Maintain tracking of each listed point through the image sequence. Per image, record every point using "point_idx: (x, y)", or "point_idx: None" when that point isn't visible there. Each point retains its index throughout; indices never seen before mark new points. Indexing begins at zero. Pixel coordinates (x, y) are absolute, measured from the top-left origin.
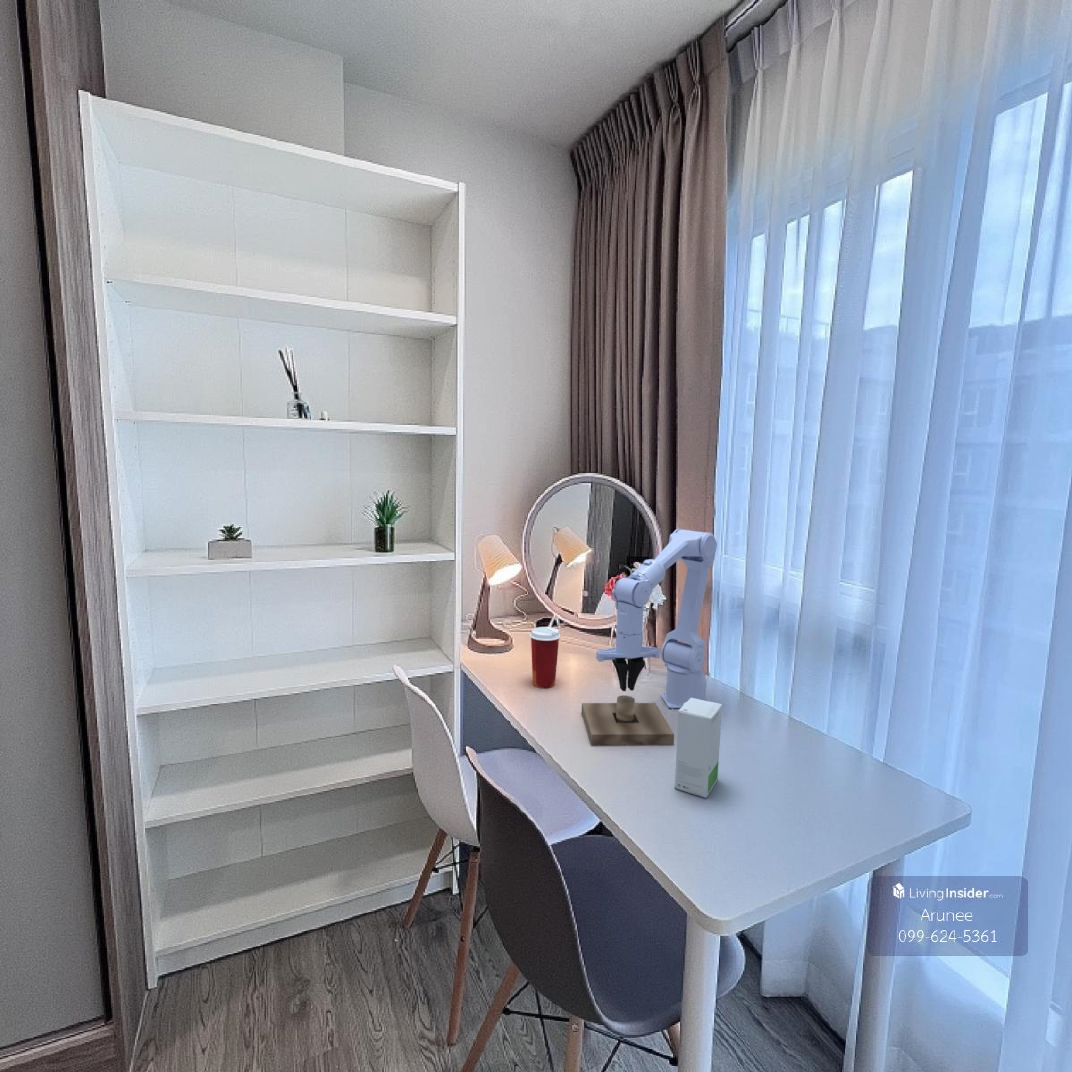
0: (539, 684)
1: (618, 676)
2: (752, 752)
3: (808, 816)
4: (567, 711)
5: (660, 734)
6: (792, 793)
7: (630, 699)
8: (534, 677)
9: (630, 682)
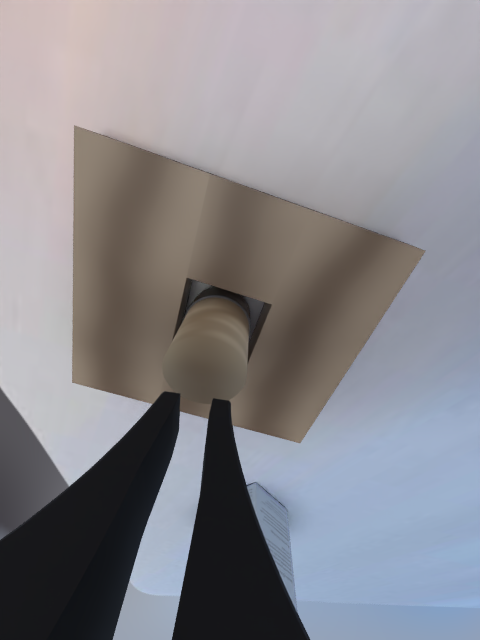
0: None
1: (117, 449)
2: (432, 481)
3: (334, 571)
4: (39, 92)
5: (265, 433)
6: (364, 550)
7: (223, 382)
8: None
9: (203, 464)
